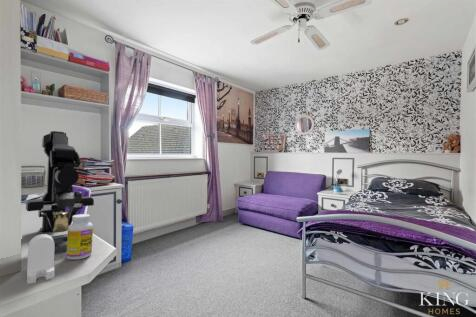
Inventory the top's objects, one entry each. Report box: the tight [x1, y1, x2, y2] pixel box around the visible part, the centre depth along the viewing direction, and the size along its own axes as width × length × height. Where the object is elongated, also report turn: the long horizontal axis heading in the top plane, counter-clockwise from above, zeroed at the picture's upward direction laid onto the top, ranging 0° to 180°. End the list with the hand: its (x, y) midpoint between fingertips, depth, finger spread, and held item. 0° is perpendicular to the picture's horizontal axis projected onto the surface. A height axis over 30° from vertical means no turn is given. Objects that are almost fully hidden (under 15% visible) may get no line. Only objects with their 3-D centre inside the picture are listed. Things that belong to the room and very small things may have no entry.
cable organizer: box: [26, 233, 55, 285], centre depth 63 cm, size 5×10×10 cm, turn 42°
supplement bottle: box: [66, 213, 94, 261], centre depth 75 cm, size 7×7×13 cm
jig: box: [50, 233, 68, 254], centre depth 84 cm, size 14×9×2 cm, turn 46°
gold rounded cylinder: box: [52, 211, 69, 233], centre depth 84 cm, size 4×4×6 cm
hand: (60, 227), depth 84 cm, fingers closed on gold rounded cylinder, 4 cm apart
